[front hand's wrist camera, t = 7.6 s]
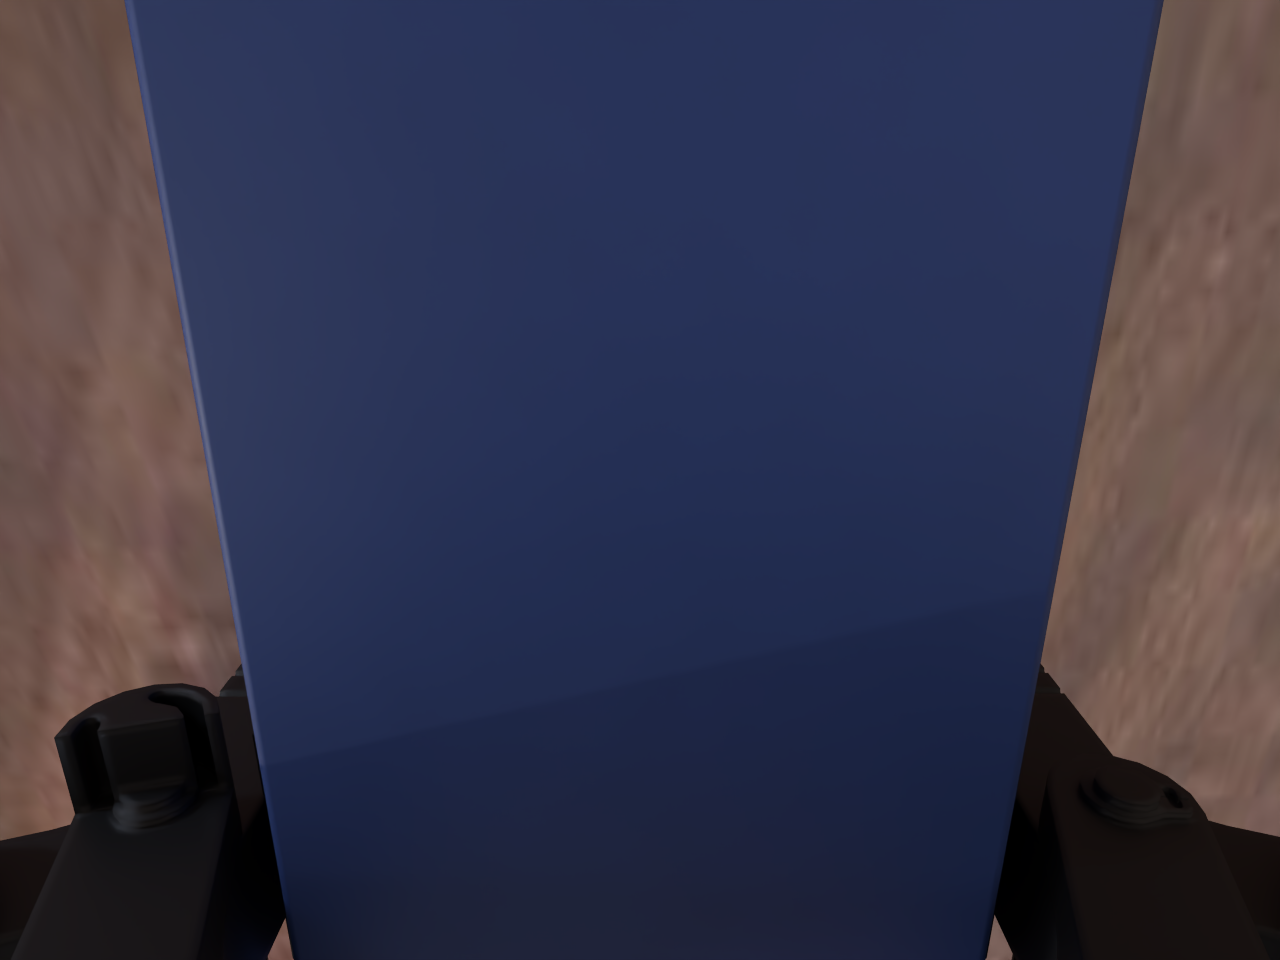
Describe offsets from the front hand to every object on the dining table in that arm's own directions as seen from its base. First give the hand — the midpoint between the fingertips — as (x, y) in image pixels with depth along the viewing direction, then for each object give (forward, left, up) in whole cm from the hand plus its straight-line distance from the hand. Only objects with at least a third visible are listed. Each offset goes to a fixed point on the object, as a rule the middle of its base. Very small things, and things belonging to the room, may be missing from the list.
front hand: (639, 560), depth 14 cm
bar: (+7, +2, -1) cm, 8 cm away
